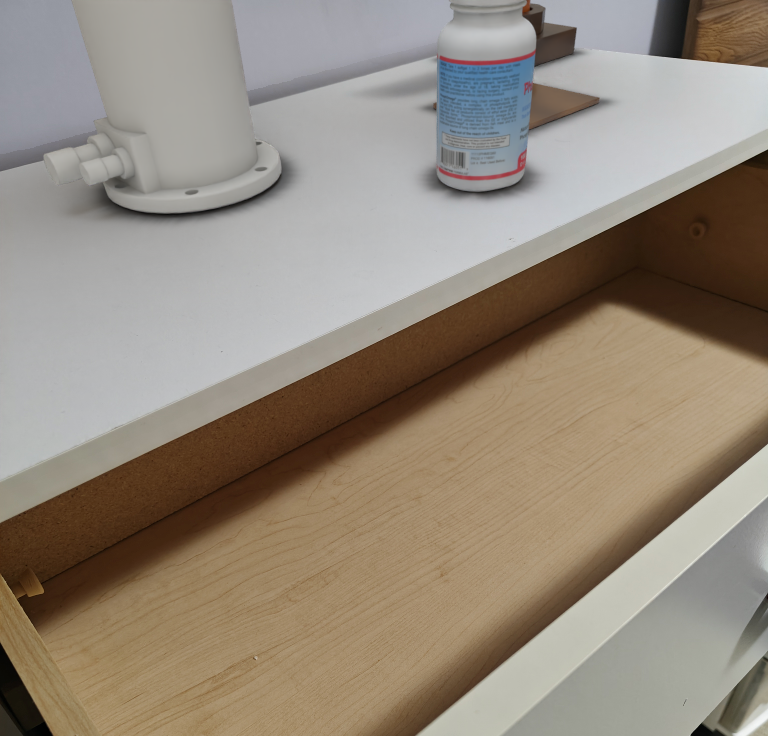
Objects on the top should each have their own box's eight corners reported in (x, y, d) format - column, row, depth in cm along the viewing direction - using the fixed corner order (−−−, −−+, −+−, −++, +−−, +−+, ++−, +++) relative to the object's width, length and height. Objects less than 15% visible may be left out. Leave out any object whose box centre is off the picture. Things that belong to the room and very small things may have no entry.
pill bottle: (539, 186, 46) (562, -25, 38) (453, 200, 45) (459, -13, 37) (503, 157, 50) (517, -39, 42) (424, 169, 49) (423, -29, 41)
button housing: (508, 74, 65) (512, 24, 62) (442, 60, 70) (442, 12, 67) (574, 53, 69) (580, 5, 67) (507, 41, 74) (510, -5, 71)
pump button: (512, 19, 65) (514, -4, 64) (485, 15, 67) (486, -7, 66) (536, 12, 67) (539, -10, 66) (509, 8, 69) (510, -13, 68)
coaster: (521, 132, 53) (521, 127, 53) (432, 108, 59) (432, 103, 59) (599, 102, 58) (600, 97, 57) (510, 82, 63) (510, 77, 63)
